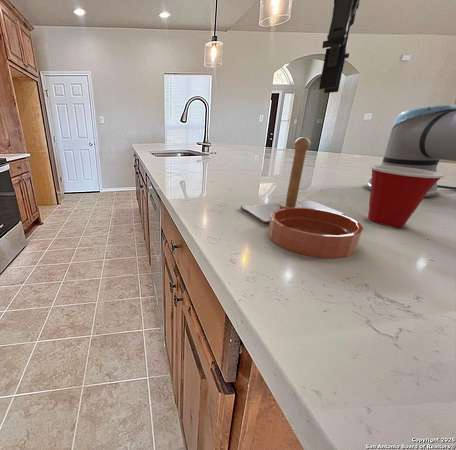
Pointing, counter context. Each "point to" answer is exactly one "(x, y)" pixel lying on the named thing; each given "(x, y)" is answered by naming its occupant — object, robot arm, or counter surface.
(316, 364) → the counter surface
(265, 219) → the board
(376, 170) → the plastic cup
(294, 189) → the stirrer
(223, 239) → the counter surface
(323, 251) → the bowl
